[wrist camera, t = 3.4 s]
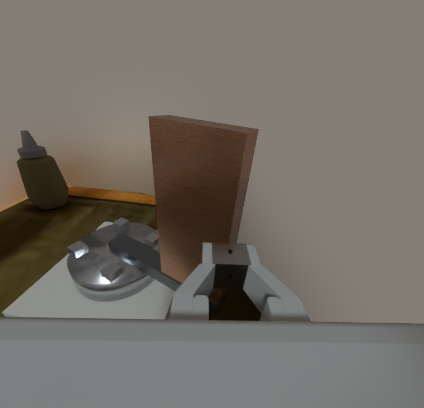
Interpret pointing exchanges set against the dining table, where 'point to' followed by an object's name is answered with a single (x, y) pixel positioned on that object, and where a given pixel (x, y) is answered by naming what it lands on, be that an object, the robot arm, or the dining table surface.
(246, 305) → the dining table surface
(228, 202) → the silver brown l-shaped piece
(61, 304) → the white square board
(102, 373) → the robot arm
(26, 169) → the squeeze bottle
